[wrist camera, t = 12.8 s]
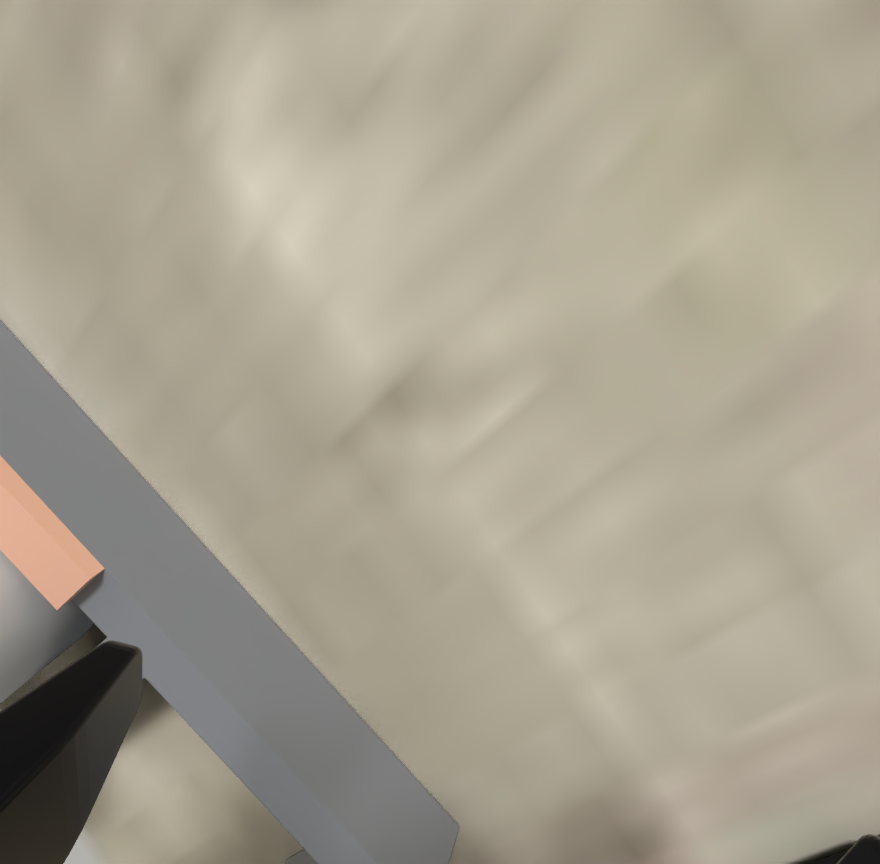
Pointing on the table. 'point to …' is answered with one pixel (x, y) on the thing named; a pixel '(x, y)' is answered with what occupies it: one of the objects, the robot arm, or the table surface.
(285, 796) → the comb rack
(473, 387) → the table surface
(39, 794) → the robot arm
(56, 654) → the can
